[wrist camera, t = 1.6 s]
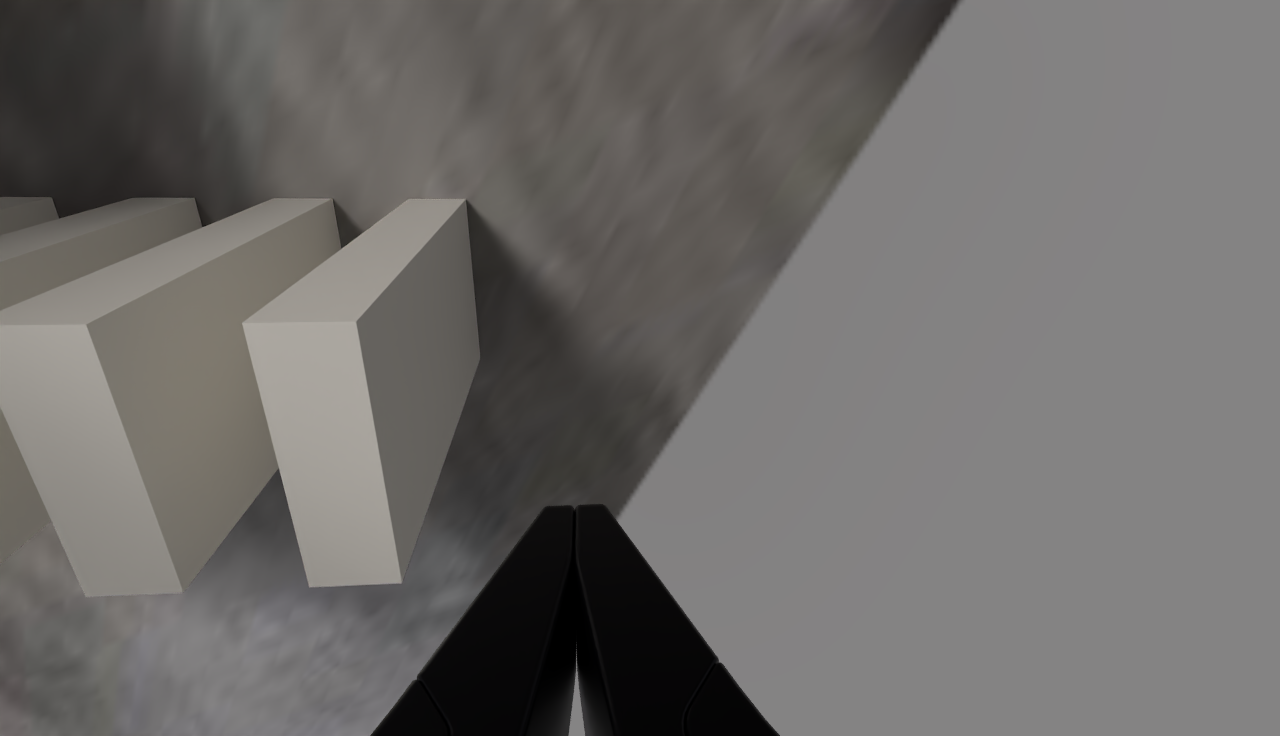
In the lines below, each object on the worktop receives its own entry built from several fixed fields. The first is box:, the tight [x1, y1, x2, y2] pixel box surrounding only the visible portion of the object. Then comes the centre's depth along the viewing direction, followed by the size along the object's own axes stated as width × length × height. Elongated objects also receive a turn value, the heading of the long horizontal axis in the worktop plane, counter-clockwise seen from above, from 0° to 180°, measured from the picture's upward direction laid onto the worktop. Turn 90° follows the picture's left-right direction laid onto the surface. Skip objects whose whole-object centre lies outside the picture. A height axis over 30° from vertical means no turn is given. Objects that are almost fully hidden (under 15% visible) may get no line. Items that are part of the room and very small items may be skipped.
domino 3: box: [242, 199, 480, 587], centre depth 15 cm, size 2×5×10 cm, turn 179°
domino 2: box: [0, 198, 341, 597], centre depth 15 cm, size 2×5×10 cm, turn 179°
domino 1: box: [0, 198, 202, 564], centre depth 14 cm, size 2×5×10 cm, turn 179°
